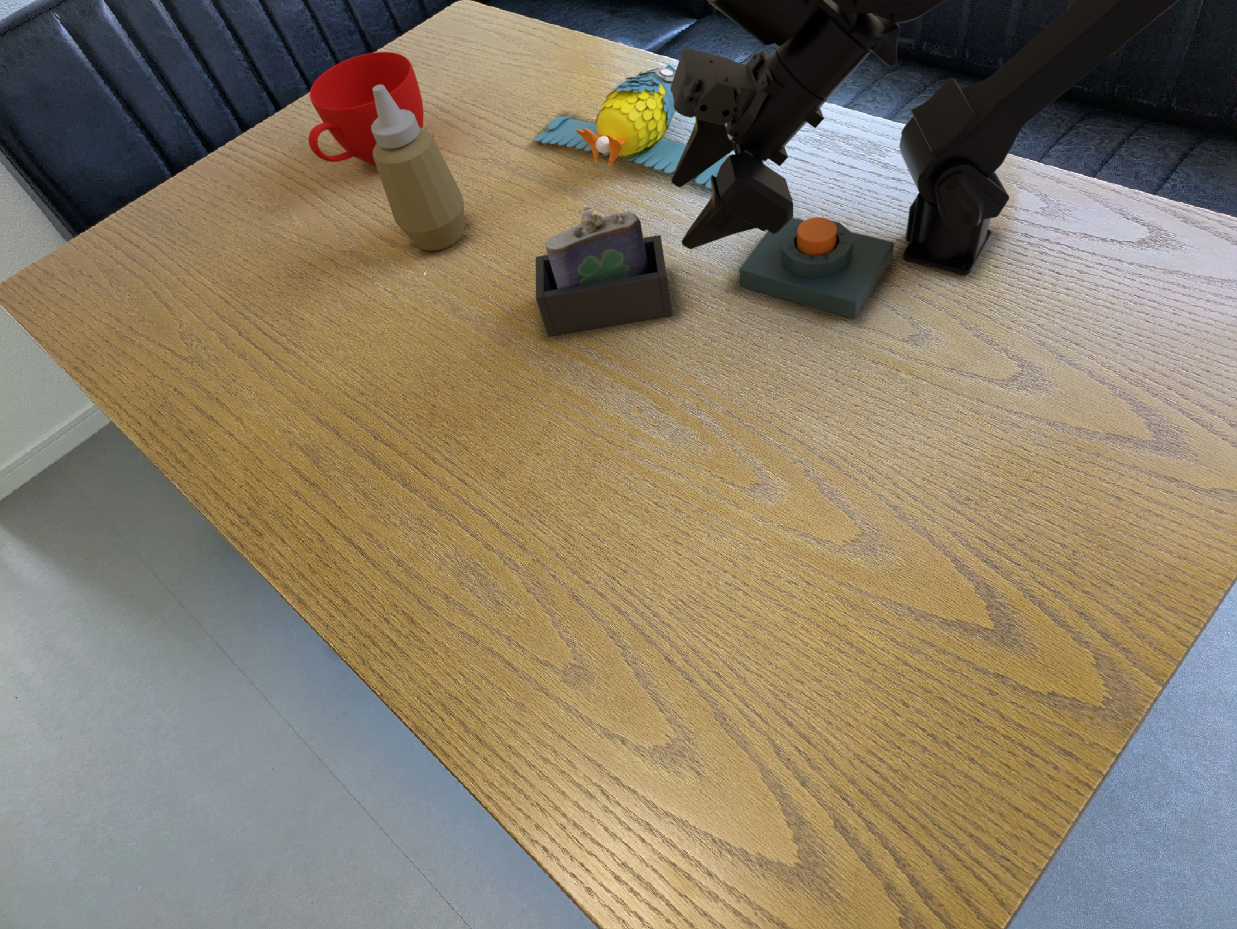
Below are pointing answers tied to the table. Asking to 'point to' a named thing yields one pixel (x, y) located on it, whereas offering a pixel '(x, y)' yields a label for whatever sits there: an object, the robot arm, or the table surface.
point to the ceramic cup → (361, 101)
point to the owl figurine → (630, 125)
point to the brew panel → (818, 269)
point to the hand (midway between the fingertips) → (680, 213)
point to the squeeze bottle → (415, 177)
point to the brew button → (816, 236)
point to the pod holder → (604, 296)
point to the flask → (598, 250)
